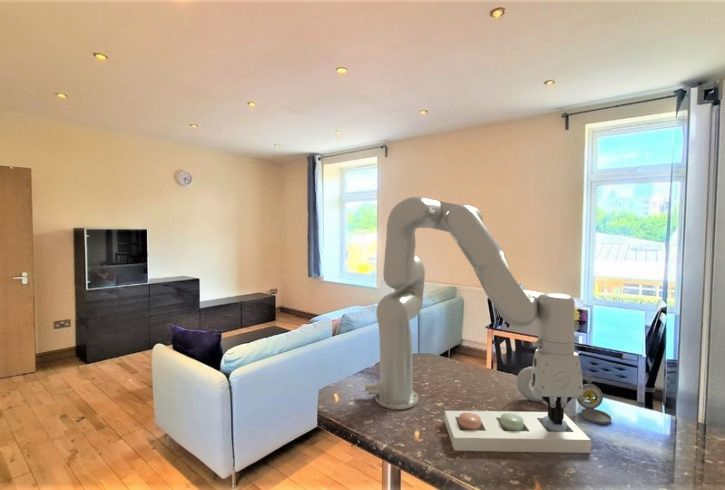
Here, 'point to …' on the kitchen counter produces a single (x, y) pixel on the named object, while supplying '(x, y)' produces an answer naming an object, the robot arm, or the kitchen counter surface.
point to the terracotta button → (470, 421)
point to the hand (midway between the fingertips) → (555, 421)
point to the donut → (526, 384)
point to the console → (515, 434)
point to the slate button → (552, 427)
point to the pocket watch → (593, 403)
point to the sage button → (511, 422)
